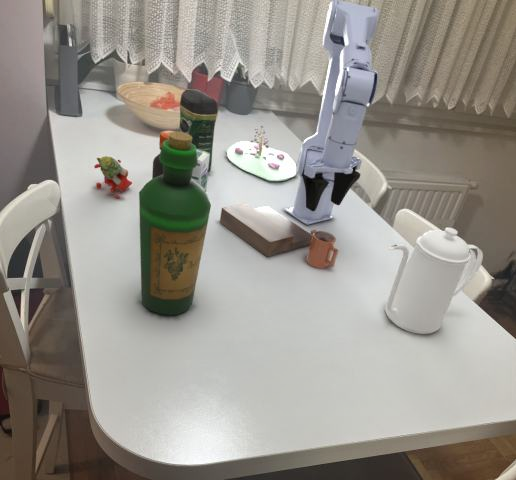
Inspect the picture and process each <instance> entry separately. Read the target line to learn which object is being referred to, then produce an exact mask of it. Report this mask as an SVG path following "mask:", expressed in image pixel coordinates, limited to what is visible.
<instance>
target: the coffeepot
mask: <svg viewBox="0 0 516 480" xmlns="http://www.w3.org/2000/svg"><path fill="white" fill-rule="evenodd" d="M458 233H459V232H458V230H457V229H455V228H453V227H445V229H444V230H442V229H441V230H440V229H431V230H428V231H425V232H424V233H423V234H422V235H420V236H418V237H417V239H416V241H415V246H414V248H413V250H412V252H411V254H410V251H409V248H408V247H407V245H405V244H403V243H394V244H391V245H390V246H389V247H388V250H390V251H391V250H400V251H402V257H401V260H400V264H399V266H398V269H397V273H396V275H395V278H394V280H393V283H392V287H391V290H390V293H389V296H388V298H387V300H386V301H385V306H384V311H385V313H386V316H387V318H389V320H390V321H391V322H392V323H393V324H394V325H396V326H397V327H399V328H400V329H402V330H404V331H406V332H410V333H414V334H418V335H427V334H432V333H435V332H437V331H438V330H439V329H440V328H441V327H442V325H443V322H444V319H445V317H446V314H447V312H448V309H449V307H450V305H451V302H452V300H453V298H454V297H455V296H456V295H458V294H459V293H460V292H461V291H463V290H464V288H465V287H466V286H467V285H469V283H470V282H471V281H472V280H473V278H474V277H475V276H476V275H477V272H479V270H480V268H481V265H482V263H483V260H484V253H483V251H482V249H481V248H479V247H478V246H477V245H475V244H468V243H467V241H465V240H464V239H463V238H461V237H460V236H458ZM474 249H475V250H476V251H477V255H476V252H475V251H474ZM409 255H410V256H409ZM467 264H468V265H467ZM466 265H467V267H466ZM465 268H466V269H465ZM464 270H465V271H464Z"/></svg>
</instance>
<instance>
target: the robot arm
mask: <svg viewBox="0 0 516 480" xmlns="http://www.w3.org/2000/svg"><path fill="white" fill-rule="evenodd" d="M378 21H379V10H378V7H375V6H367V5H362V4H358V3H353V2H349V1H346V0H345V1H344V0H331V1H330V3H329V6H328V10H327V14H326V19H325V24H324V31H323V36H322V48H324V50H326V52H327V53H328V67H327V73H326V79H325V83H324V88H323V94H322V100H321V105H320V111H319V115H318V121H317V126H316V130H315V134H313V135H311V136H309V137H307V138H305V139H304V140H303V141H302V143H301V146H300V151H299V153H298V158H297V162H296V175H297V177H299V181H298V186H297V190H296V196H295V198H294V202H293V206H291V207H286V208H285V209H284V212H286V213H288V214H289V215H291V216H293V217H294V218H296V219H297V220H298V221H300V222H302V223H303V224H305V225H313V224H316V223H321V222H324V221H327V220H331V219H333V218H334V216H333V215H332V211H333V209H334V205H336V206H340V205H341V204H342V203H343V200H344V199H345V197H346V196H347V193H348V192H349V191H350V190H351V188H352V187H353V185H354V184H355V183H356V182H357V181H358V180H359V179H361V178H360V177H361V173H360V172H359V171H358V170H360V169H361V165H362V162H363V159H361V158H359V157H357V156H354V152H355V149H356V146H357V142H358V139H359V135H360V133H361V129H362V126H363V123H364V119H365V116H366V112H367V108H368V109H369V108H371V106H372V104H373V102H374V99H375V97H376V93H377V89H378V84H379V72H378V71H376V70H375V69H373V66H372V65H373V63H372V61H373V60H372V50H371V48H370V47H369V45H370V43H371V41H372V40H373V38H374V36H375V33H376V30H377V26H378ZM366 107H367V108H366Z"/></svg>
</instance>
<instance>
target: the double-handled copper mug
mask: <svg viewBox="0 0 516 480" xmlns="http://www.w3.org/2000/svg"><path fill="white" fill-rule="evenodd" d="M310 234H311V235H313V236H312V240H311V243H310V245H309V247H308V250H307V255H306V257H305V261H306V263H307V264H308V265H309V266H311V267H313V268H316V269H325V268H327V267H328V266H329V267H331V268H333V267H334V266H335V263H336V260H337V257H338V254H339V249H338V248H336V247H335V245H336V241H337V238H336V237H335V236H334V234H331V232H327V231H323V230H316V229H314V230H311V231H310Z"/></svg>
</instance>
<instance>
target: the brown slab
mask: <svg viewBox="0 0 516 480" xmlns="http://www.w3.org/2000/svg"><path fill="white" fill-rule="evenodd" d="M219 224H221V225H223V226H224V227H225V228H227V229H228V230H230V232H232V233H233V234H235V235H236V236H238V237H239V238H240V239H242V240H243V241H244V242H245V243H246V244H248V245H250V246H251V247H252V248H254V249H255V250H256V251H258V252H259V253H261V255H263V256H265V257H266V258H270V257H272V256H275V255H279V254H283V253H286V252H287V253H288V252H290V251H294V250H296V249H300V248H304V247H307V246H310V243H311V240H312V236H313V235H312V234H311V232H309V231H306V230H305V229H303V228H302V227H301V226H300V225H297V224H296V223H295V222H293V221H291V220H290V219H289V218H287V217H286V216H284V215H283V214H281V213H280V212H278V211H277V210H275V209H274V208H272V207H270V206H269V205H264V206H258V207H252V205H250V204H248V203H246V202H245V203H241V204H235V205H230V206H225V207H221V211H220V218H219Z"/></svg>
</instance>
